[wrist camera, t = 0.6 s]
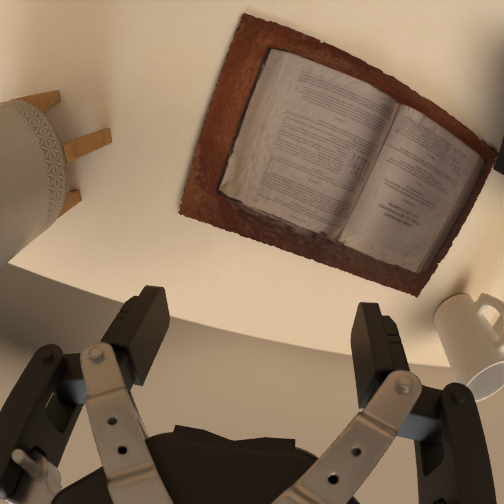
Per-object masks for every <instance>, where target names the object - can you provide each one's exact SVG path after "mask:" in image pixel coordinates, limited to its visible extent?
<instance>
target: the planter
mask: <svg viewBox="0 0 504 504" xmlns="http://www.w3.org/2000/svg"><path fill="white" fill-rule="evenodd" d="M59 101H60V96H59V90H58V91H52V92H46V93H41V94H36V95H31V96H26V97H22V98H17V99H13V100H9V101H6V102H2V103H0V269H1V268H2V267H3V266H4V265H5V264H6V263H7V262H8V261H10V260H11V259H12V258H13V257H14V256H15V255H16V254H18V253H19V252H20V251H21V250H22V249H23V248H24V247H26V246H27V245H28V244H29V243H30V242H32V241H33V240H34V239H35V238H36V237H38V236H39V235H40V234H41V233H43V232H44V231H45V230H46V229H48V228H49V227H50V226H51V225H52V224H53V223H54V222H55V220H56V219H57V218H59V217H60V216H61V215H63V214H64V213H65V212H67V211H68V210H69V209H71V208H72V207H73V206H75V205H76V204H77V203H79V202H80V201H82V199H81V196H80V192H79V190H77V191H71V192H68V193H66V189H67V171H66V164H67V163H69V162H71V161H73V160H75V159H77V158H80V157H82V156H84V155H86V154H88V153H90V152H92V151H94V150H96V149H99V148H101V147H103V146H105V145H107V144H110V143H112V140H111V135H110V129H104V130H100V131H97V132H94V133H91V134H88V135H85V136H82V137H79V138H76V139H73V140H70V141H67V142H64V143H61V142H60V140H59V137H58V135H57V133H56V131H55V129H54V127H53V125H52V124H51V122H50V121H49V119H48V118H47V116H46V115H45V113H46V111H47V110H48V109H49V107H51V106H52V105H53V104H54V103H57V102H59Z"/></svg>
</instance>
